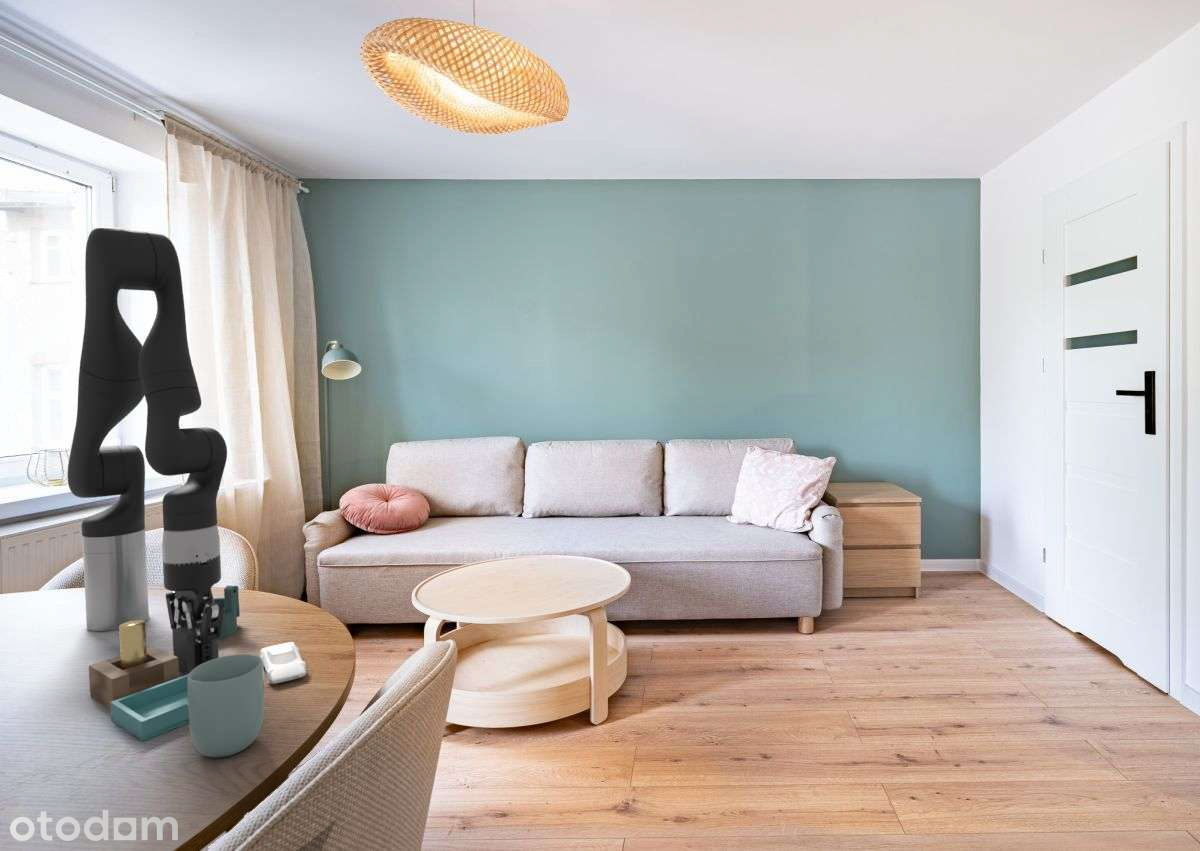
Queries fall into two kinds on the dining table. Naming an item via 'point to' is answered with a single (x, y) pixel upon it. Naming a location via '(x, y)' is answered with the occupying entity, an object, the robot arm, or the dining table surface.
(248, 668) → the cup
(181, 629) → the dark grey block
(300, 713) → the dining table surface
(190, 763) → the dining table surface
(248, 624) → the dining table surface
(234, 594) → the bracket
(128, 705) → the tray
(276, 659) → the toy car
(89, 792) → the dining table surface
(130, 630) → the pin
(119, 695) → the socket
